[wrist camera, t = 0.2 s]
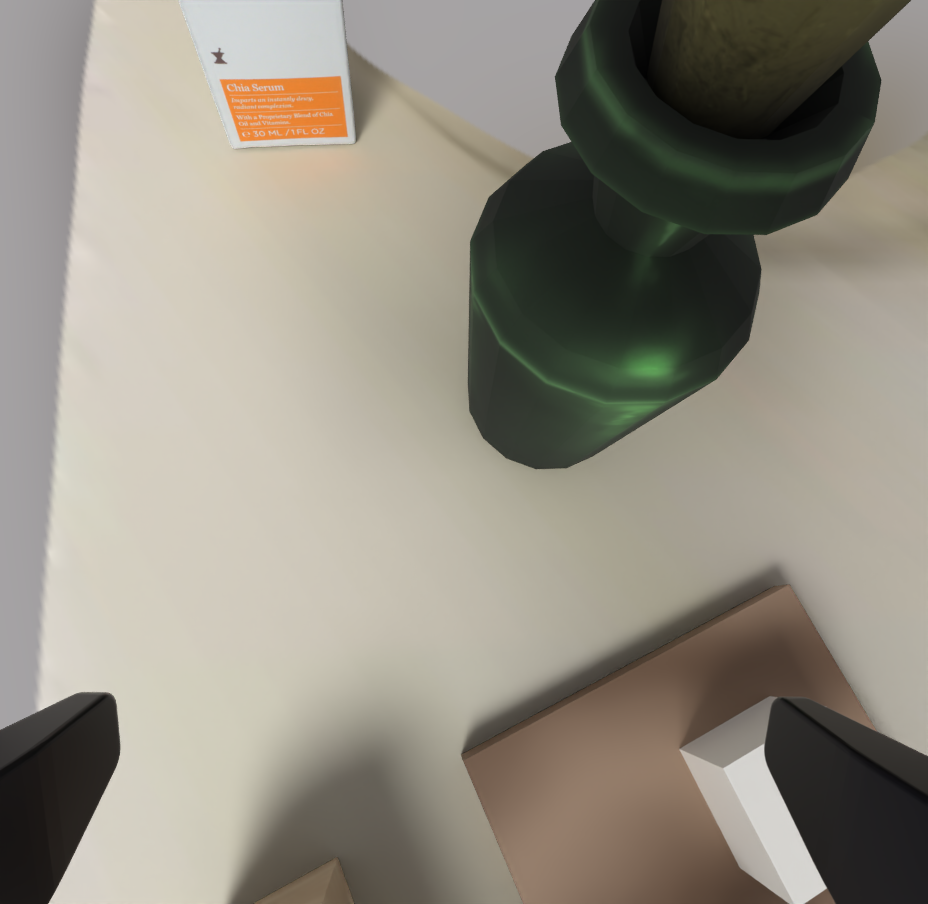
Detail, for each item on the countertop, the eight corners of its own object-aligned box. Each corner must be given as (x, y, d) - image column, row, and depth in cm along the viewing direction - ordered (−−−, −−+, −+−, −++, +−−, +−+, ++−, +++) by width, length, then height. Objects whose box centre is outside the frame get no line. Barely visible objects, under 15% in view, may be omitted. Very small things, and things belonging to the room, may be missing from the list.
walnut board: (1031, 1024, 20) (1063, 1044, 19) (691, 1302, 17) (708, 1343, 16) (774, 586, 23) (789, 584, 22) (460, 754, 21) (463, 760, 20)
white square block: (832, 807, 20) (901, 837, 17) (739, 867, 19) (796, 908, 16) (769, 696, 21) (825, 706, 18) (678, 748, 20) (723, 768, 17)
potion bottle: (507, 284, 26) (681, -353, 9) (664, 373, 26) (1164, -137, 9) (411, 425, 24) (409, -82, 7) (581, 527, 23) (1049, 246, 6)
